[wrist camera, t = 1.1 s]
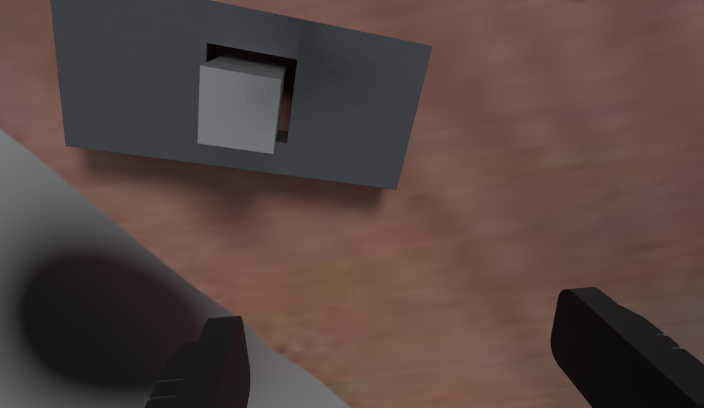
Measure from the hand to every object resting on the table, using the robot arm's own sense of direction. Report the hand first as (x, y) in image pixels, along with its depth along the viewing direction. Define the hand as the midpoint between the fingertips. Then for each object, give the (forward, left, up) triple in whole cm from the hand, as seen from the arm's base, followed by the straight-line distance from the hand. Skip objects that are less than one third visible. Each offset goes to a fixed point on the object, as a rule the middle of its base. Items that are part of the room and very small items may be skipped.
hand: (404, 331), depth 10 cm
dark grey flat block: (-6, +2, -22) cm, 23 cm away
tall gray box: (-6, +2, -22) cm, 23 cm away
